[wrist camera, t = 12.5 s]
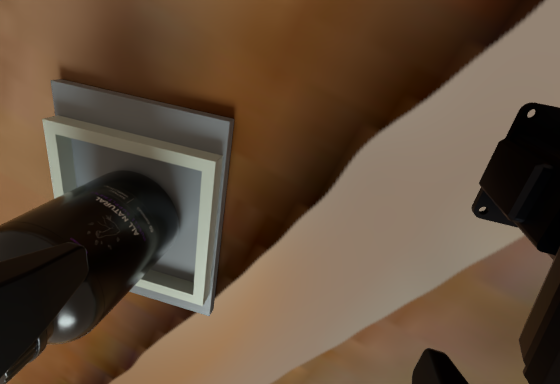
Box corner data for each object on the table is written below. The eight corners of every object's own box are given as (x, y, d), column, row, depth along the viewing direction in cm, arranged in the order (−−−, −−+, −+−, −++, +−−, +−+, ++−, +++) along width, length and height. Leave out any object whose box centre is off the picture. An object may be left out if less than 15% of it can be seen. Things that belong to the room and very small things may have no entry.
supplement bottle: (183, 178, 22) (14, 309, 11) (181, 261, 25) (47, 428, 14) (90, 156, 22) (-152, 259, 12) (99, 239, 25) (-88, 380, 15)
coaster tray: (234, 119, 20) (222, 126, 18) (213, 308, 27) (203, 327, 25) (60, 79, 22) (33, 82, 20) (83, 269, 29) (65, 284, 27)
